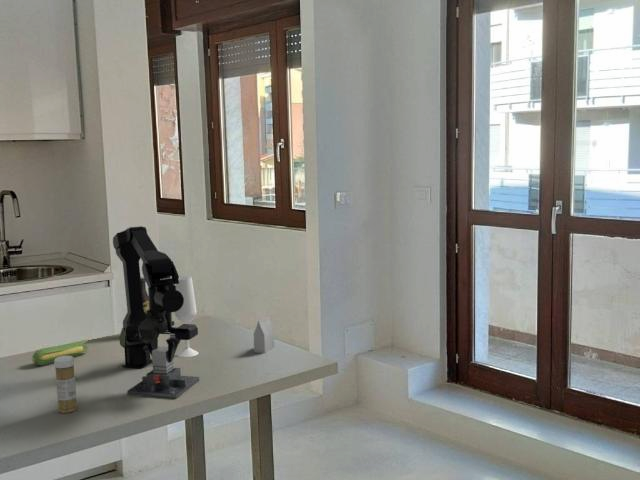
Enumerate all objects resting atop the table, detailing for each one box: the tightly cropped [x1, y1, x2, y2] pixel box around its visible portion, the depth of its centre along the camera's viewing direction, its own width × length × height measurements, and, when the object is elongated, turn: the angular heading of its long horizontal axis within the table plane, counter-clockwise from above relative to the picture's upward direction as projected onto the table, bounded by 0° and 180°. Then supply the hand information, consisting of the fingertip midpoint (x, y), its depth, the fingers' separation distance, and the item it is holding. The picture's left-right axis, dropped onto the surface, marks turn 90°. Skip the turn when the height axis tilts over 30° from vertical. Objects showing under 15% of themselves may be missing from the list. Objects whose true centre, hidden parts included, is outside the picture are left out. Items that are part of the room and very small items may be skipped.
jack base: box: [126, 367, 200, 399], centre depth 191 cm, size 14×14×4 cm
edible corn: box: [31, 339, 89, 367], centre depth 218 cm, size 5×20×5 cm
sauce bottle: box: [140, 276, 149, 313], centre depth 242 cm, size 6×6×20 cm
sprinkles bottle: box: [53, 356, 78, 414], centre depth 175 cm, size 5×5×14 cm
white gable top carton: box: [253, 316, 275, 354], centre depth 223 cm, size 4×7×10 cm, turn 158°
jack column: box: [151, 346, 175, 375], centre depth 190 cm, size 4×4×8 cm
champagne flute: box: [174, 275, 199, 358], centre depth 219 cm, size 7×7×24 cm
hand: (163, 361), depth 190 cm, fingers closed on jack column, 4 cm apart
